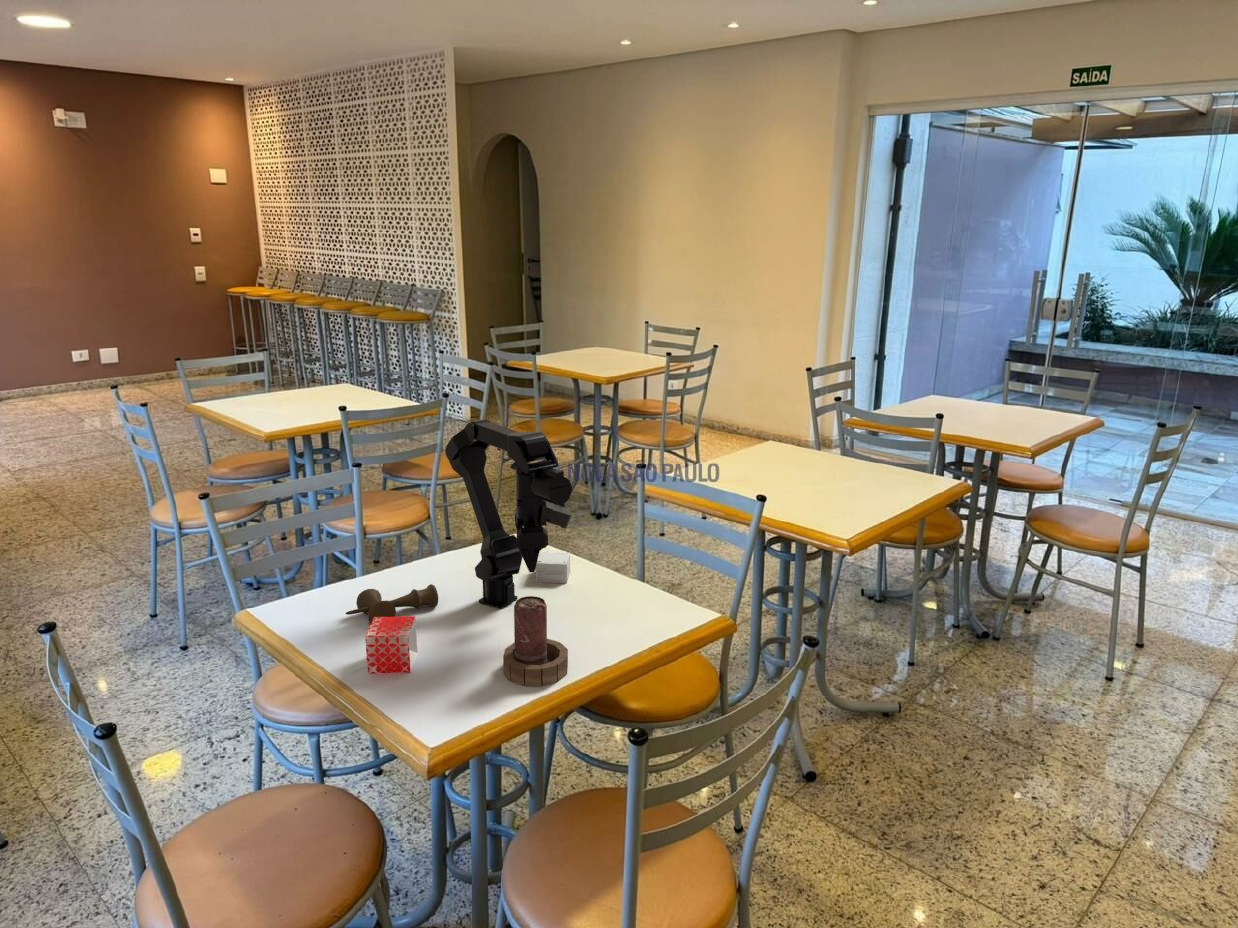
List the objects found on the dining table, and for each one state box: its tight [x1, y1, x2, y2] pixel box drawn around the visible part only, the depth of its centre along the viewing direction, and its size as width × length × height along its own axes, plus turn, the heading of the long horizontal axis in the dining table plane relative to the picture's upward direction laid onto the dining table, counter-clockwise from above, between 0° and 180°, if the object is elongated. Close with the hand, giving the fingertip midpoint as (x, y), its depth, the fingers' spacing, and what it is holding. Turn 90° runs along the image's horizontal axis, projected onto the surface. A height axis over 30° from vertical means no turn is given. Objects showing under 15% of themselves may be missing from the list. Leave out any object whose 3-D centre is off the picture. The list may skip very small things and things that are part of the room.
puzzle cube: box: [364, 615, 418, 675], centre depth 156 cm, size 8×8×8 cm
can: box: [513, 595, 548, 665], centre depth 154 cm, size 6×6×14 cm
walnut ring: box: [502, 638, 569, 687], centre depth 155 cm, size 12×12×4 cm
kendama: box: [345, 583, 439, 625], centre depth 176 cm, size 6×10×20 cm
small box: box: [534, 551, 571, 584], centre depth 198 cm, size 8×8×5 cm
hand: (530, 563), depth 172 cm, fingers open, 9 cm apart
